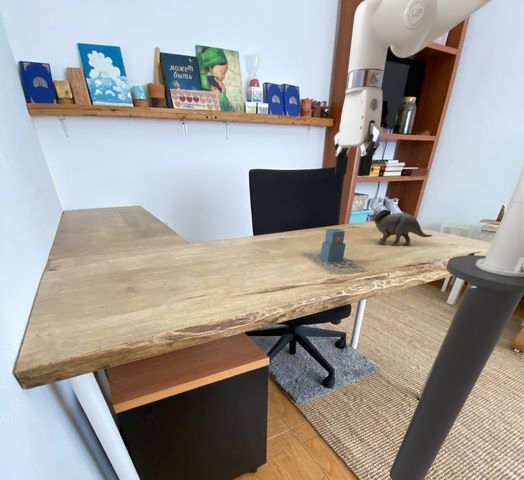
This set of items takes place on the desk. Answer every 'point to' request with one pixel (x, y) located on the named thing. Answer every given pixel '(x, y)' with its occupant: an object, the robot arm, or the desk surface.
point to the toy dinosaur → (396, 225)
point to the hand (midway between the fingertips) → (351, 175)
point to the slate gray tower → (333, 246)
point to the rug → (335, 263)
